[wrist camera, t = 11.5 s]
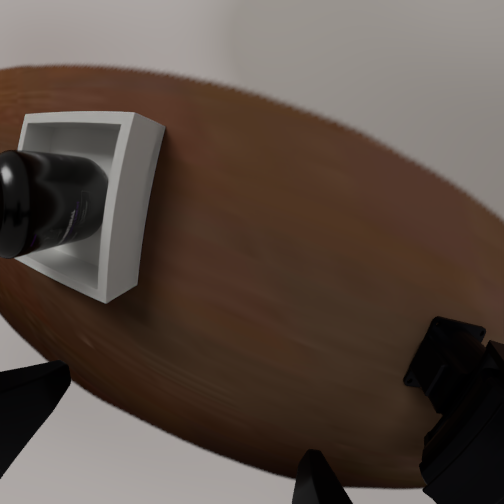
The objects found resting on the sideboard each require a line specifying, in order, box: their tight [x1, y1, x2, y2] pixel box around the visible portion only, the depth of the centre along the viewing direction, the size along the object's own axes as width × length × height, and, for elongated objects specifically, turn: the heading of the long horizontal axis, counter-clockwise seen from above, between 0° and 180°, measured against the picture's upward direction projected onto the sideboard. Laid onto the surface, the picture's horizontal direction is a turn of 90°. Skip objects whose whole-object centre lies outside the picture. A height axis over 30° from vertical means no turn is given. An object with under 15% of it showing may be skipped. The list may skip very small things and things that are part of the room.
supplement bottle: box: [0, 150, 108, 259], centre depth 14 cm, size 7×7×12 cm
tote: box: [15, 111, 165, 304], centre depth 19 cm, size 13×13×4 cm
